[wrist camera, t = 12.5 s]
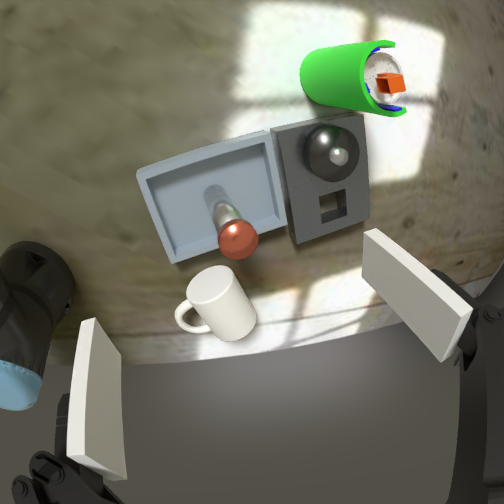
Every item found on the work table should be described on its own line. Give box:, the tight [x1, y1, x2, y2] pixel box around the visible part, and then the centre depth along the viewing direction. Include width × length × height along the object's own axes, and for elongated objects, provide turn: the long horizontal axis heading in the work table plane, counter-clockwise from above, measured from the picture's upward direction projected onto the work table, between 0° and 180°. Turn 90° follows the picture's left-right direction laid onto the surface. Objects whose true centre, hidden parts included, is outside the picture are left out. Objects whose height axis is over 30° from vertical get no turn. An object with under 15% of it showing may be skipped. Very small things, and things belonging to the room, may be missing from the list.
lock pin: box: [203, 184, 258, 260], centre depth 36 cm, size 4×4×14 cm
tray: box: [136, 130, 288, 264], centre depth 41 cm, size 18×14×3 cm
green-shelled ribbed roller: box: [300, 40, 407, 117], centre depth 30 cm, size 9×8×18 cm
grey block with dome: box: [270, 112, 370, 244], centre depth 43 cm, size 14×18×7 cm
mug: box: [175, 265, 257, 342], centre depth 48 cm, size 12×10×8 cm
